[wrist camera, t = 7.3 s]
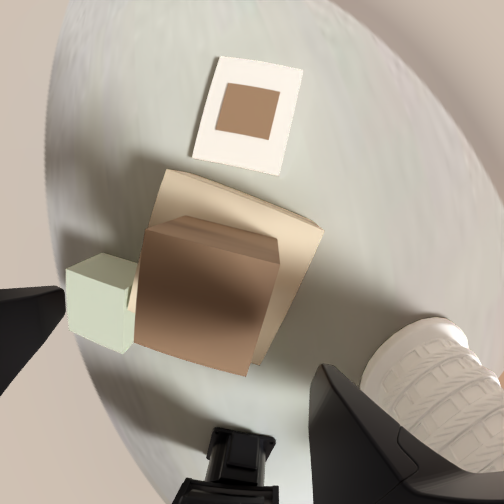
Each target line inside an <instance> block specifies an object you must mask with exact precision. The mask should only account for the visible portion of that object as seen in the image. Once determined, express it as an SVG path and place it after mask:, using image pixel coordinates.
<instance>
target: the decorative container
mask: <svg viewBox="0 0 504 504" xmlns="http://www.w3.org/2000/svg"><path fill="white" fill-rule="evenodd" d="M360 390H361V391H362V392H363V393H365V394H366V395H367V396H368V397H369V398H370V399H371V400H373V401H374V402H375V403H376V404H377V405H378V406H379V407H381V408H382V409H383V410H384V411H385V412H386V413H387V414H389V415H390V416H391V417H392V418H393V419H394V420H396V421H397V422H398V423H399V424H400V426H403V427H404V428H405V429H406V430H407V431H408V432H410V433H411V434H412V435H413V436H415V437H416V438H417V439H418V440H420V441H421V442H422V443H424V444H425V445H426V446H428V447H429V448H431V449H432V450H434V451H435V452H436V453H438V454H439V455H441V456H442V457H444V458H445V459H447V460H448V461H450V462H452V463H453V464H455V465H456V466H458V467H459V468H461V469H463V470H465V471H468V472H472V473H488V472H498V471H504V390H503V389H502V388H501V386H500V383H499V380H498V378H497V376H496V374H495V373H494V372H493V371H491V370H489V369H487V368H485V367H483V366H481V363H480V361H479V359H478V357H477V355H476V354H475V353H474V352H473V351H472V350H470V349H469V348H468V342H467V337H466V336H465V334H464V333H463V331H462V330H461V329H460V328H459V327H458V326H457V325H456V324H454V323H453V322H451V321H450V320H448V319H445V318H439V317H432V318H426V319H421V320H419V321H416V322H414V323H411V324H409V325H407V326H405V327H404V328H402V329H401V330H399V331H398V332H396V333H395V334H393V335H392V336H391V337H390V338H389V339H388V340H387V341H386V342H384V343H383V344H382V345H381V346H380V347H379V348H378V350H377V351H376V352H375V354H374V355H373V356H372V358H371V359H370V360H369V362H368V364H367V366H366V368H365V370H364V372H363V374H362V379H361V384H360Z"/></svg>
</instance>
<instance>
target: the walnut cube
mask: <svg viewBox="0 0 504 504" xmlns="http://www.w3.org/2000/svg"><path fill="white" fill-rule="evenodd" d="M279 268H280V257H279V249H278V240H277V239H276V238H273V237H269V236H265V235H261V234H257V233H253V232H249V231H246V230H242V229H238V228H234V227H230V226H226V225H222V224H218V223H214V222H210V221H206V220H202V219H198V218H194V217H190V216H186V215H185V216H182V217H179V218H176V219H173V220H170V221H167V222H164V223H161V224H158V225H155V226H153V227H150V228H147V229H145V233H144V239H143V246H142V253H141V261H140V269H139V278H138V288H137V298H136V311H135V326H134V343H137V344H139V345H142V346H145V347H148V348H150V349H153V350H156V351H159V352H162V353H165V354H168V355H171V356H174V357H177V358H180V359H183V360H186V361H190V362H193V363H196V364H200V365H203V366H207V367H210V368H214V369H218V370H221V371H225V372H229V373H233V374H237V375H241V376H245V377H246V375H247V372H248V369H249V366H250V363H251V360H252V357H253V353H254V350H255V347H256V344H257V341H258V338H259V334H260V331H261V328H262V325H263V321H264V318H265V315H266V312H267V308H268V305H269V302H270V298H271V295H272V292H273V288H274V285H275V281H276V278H277V275H278V271H279Z"/></svg>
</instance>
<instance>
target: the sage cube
mask: <svg viewBox="0 0 504 504" xmlns="http://www.w3.org/2000/svg"><path fill="white" fill-rule="evenodd" d="M137 265H138V263H136V262H132V261H129V260H125V259H122V258H119V257H115V256H112V255H109V254H106V253H100V254H98V255H96V256H93V257H91V258H89V259H86V260H84V261H82V262H80V263H77V264H75V265H73V266H71V267H69V268H66V299H67V315H68V326H69V331H71V332H73V333H76V334H78V335H80V336H82V337H84V338H86V339H88V340H91V341H93V342H95V343H97V344H100V345H102V346H104V347H107V348H109V349H111V350H114V351H116V352H119V353H121V354H124V353H125V352H126V350H127V349H128V348H129V347H130V346H131V345H132V343H133V342H134V326H135V313H133V312H131V311H129V310H127V309H128V304H129V300H130V295H131V290H132V286H133V281H134V277H135V273H136V269H137Z"/></svg>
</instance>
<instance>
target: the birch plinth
mask: <svg viewBox="0 0 504 504" xmlns="http://www.w3.org/2000/svg"><path fill="white" fill-rule="evenodd" d="M185 215H186V216H190V217H194V218H198V219H202V220H206V221H210V222H214V223H218V224H222V225H226V226H230V227H234V228H238V229H242V230H246V231H249V232H253V233H257V234H261V235H265V236H269V237H273V238H276V239H277V240H278V249H279V257H280V268H279V271H278V275H277V278H276V281H275V285H274V288H273V292H272V295H271V298H270V302H269V305H268V308H267V312H266V315H265V318H264V321H263V325H262V328H261V331H260V334H259V338H258V341H257V344H256V347H255V350H254V353H253V357H252V360H251V363H253V364H256V365H259V366H260V364H261V362H262V360H263V358H264V356H265V355H266V353H267V351H268V349H269V347H270V345H271V343H272V341H273V339H274V337H275V335H276V333H277V331H278V329H279V327H280V325H281V323H282V322H283V320H284V318H285V315H286V313H287V311H288V309H289V307H290V305H291V303H292V301H293V299H294V297H295V295H296V293H297V291H298V289H299V287H300V285H301V282H302V280H303V278H304V276H305V274H306V272H307V270H308V267H309V265H310V263H311V261H312V259H313V256H314V254H315V252H316V250H317V247H318V245H319V243H320V241H321V238H322V236H323V234H324V232H325V231H324V230H323V229H322V228H321V227H319V226H318V225H317V224H316V223H314V222H313V221H312V220H309V219H307V218H305V217H302V216H300V215H298V214H295V213H293V212H290V211H288V210H286V209H283V208H281V207H278V206H276V205H273V204H271V203H269V202H266V201H264V200H261V199H259V198H256V197H253V196H251V195H248V194H246V193H243V192H241V191H238V190H236V189H233V188H230V187H228V186H225V185H222V184H220V183H217V182H214V181H212V180H209V179H206V178H203V177H201V176H198V175H195V174H192V173H188V172H182V171H176V170H170V169H166V172H165V175H164V178H163V180H162V183H161V186H160V189H159V192H158V195H157V198H156V201H155V205H154V208H153V211H152V214H151V217H150V221H149V224H148V228H150V227H153V226H155V225H158V224H161V223H164V222H167V221H170V220H173V219H176V218H179V217H182V216H185ZM142 246H143V245H142ZM141 253H142V249H141ZM141 253H140V257H139V261H138V265H137V269H136V273H135V277H134V281H133V286H132V290H131V295H130V300H129V304H128V309H127V310H129V311H131V312H133V313H135V311H136V298H137V288H138V278H139V269H140V261H141Z"/></svg>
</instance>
